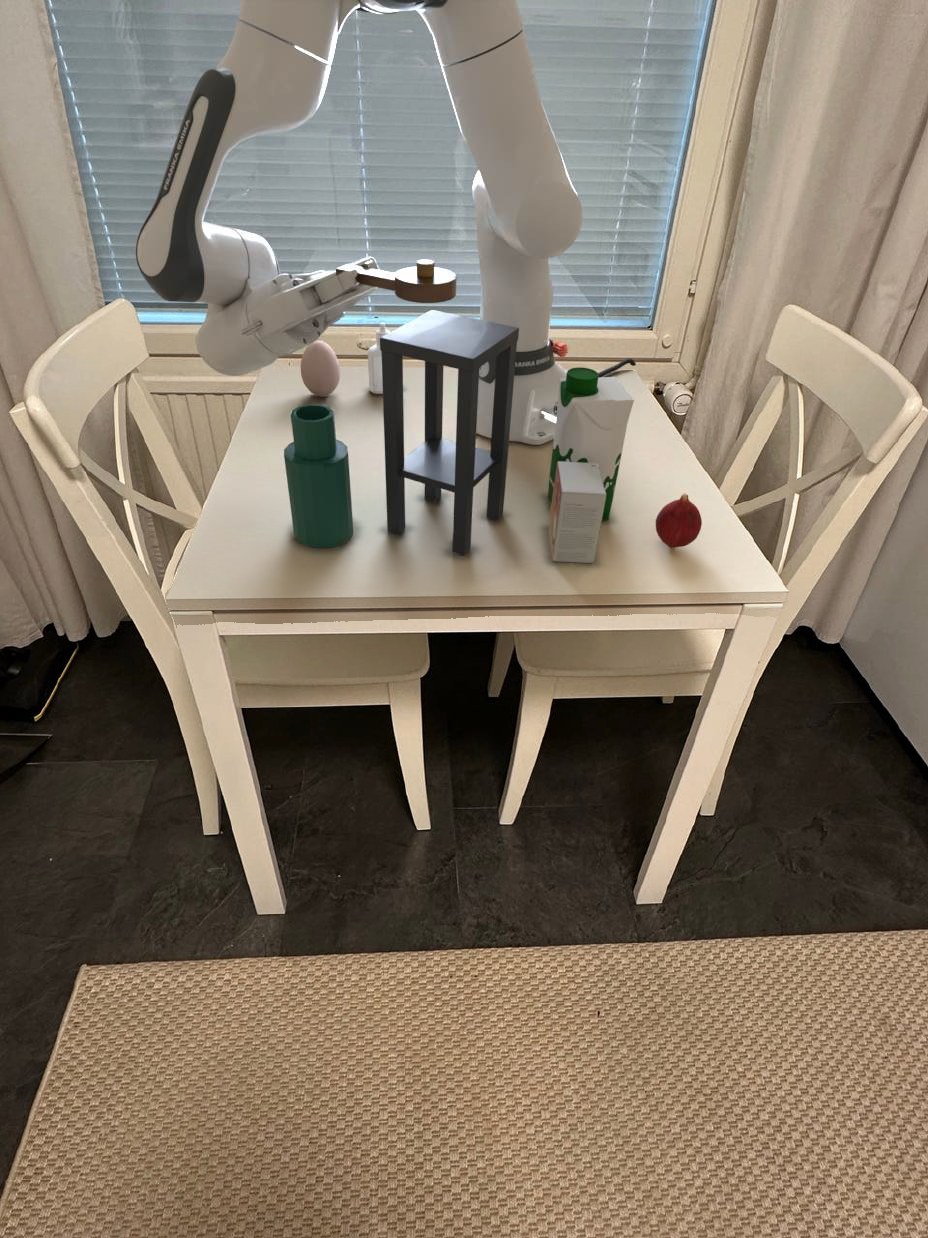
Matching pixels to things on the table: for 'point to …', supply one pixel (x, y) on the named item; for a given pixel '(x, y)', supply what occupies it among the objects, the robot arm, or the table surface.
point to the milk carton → (591, 426)
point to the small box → (576, 512)
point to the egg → (320, 369)
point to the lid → (411, 281)
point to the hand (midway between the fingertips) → (364, 271)
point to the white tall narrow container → (376, 362)
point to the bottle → (318, 479)
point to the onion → (678, 522)
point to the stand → (438, 458)
